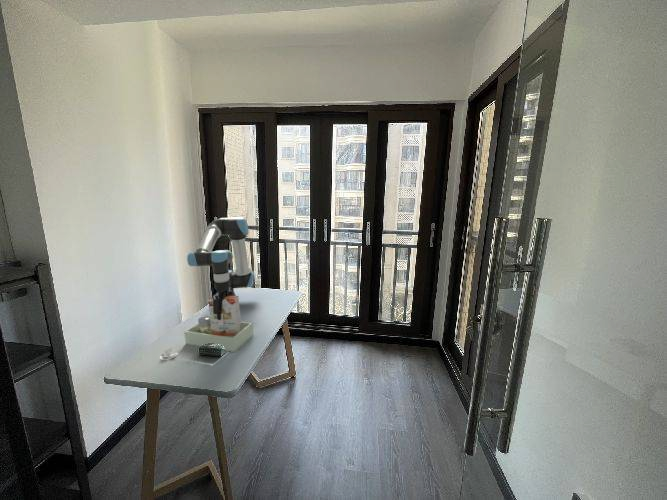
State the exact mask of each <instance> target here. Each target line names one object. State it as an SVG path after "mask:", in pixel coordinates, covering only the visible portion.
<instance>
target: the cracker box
mask: <svg viewBox="0 0 667 500" xmlns="http://www.w3.org/2000/svg"><path fill="white" fill-rule="evenodd" d="M219 299H221V298H219ZM207 301H208V311H209V316H210V322H211V332H212V335H217V336H235V335H237V334H238V333H239V332H240V331H241V322H242V321H241V311H240V310H241V309H240V299H239V295H236V296H227V297H225V298H224V299H223V301H222V312H221V313H223V322H224V325H223V326H222V325H218V319H217V314H213V298H212V296H210V298H208V300H207Z"/></svg>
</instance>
